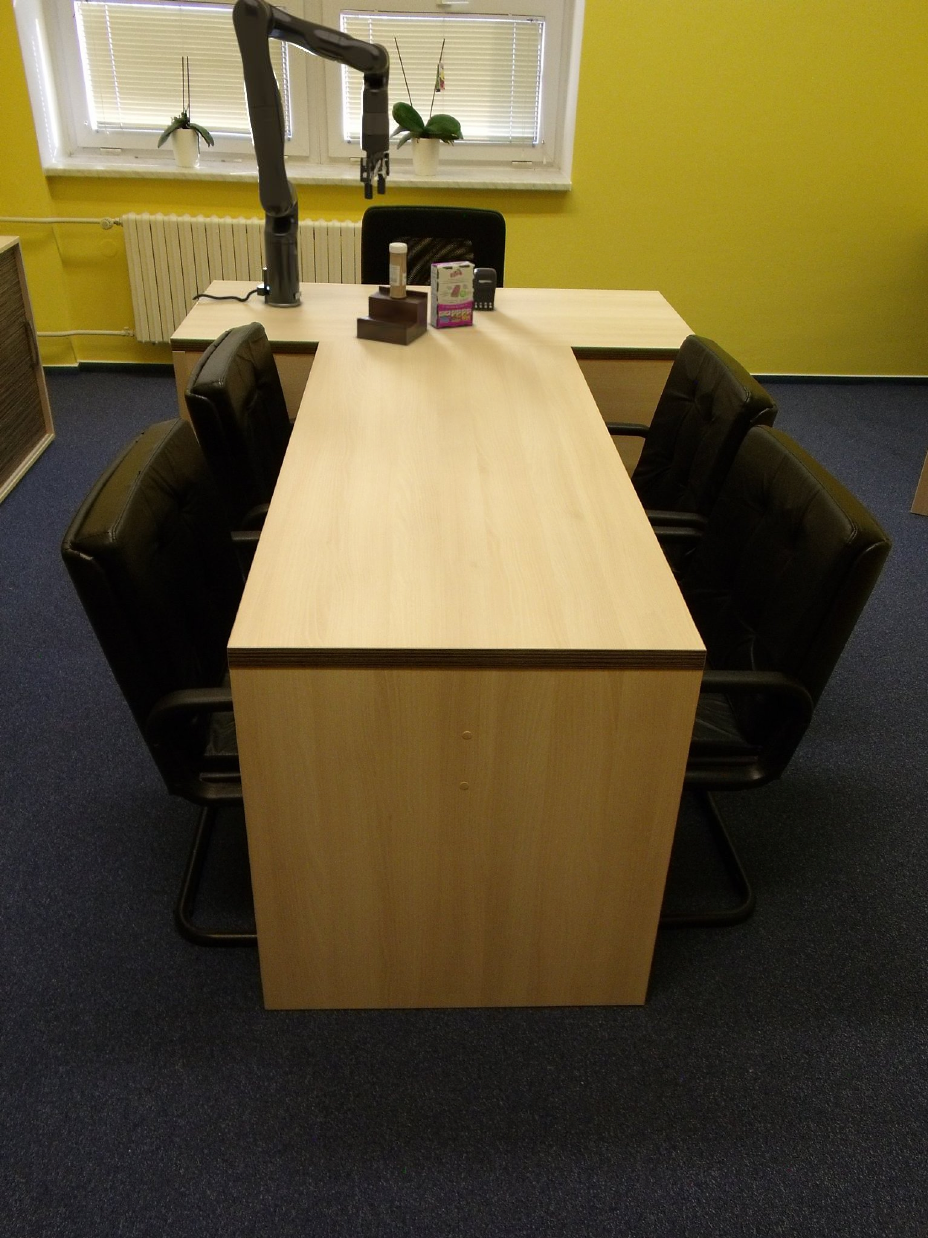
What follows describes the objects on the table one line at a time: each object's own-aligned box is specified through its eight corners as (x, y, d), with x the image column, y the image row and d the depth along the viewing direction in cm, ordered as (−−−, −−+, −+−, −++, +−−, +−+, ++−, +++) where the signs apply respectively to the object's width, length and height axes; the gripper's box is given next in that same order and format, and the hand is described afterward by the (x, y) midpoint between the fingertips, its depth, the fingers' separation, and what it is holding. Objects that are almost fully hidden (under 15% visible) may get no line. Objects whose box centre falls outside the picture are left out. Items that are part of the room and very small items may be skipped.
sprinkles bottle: (409, 297, 268) (410, 244, 260) (394, 299, 265) (395, 246, 258) (400, 293, 271) (401, 241, 264) (386, 295, 269) (386, 242, 261)
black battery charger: (471, 311, 292) (473, 270, 286) (470, 307, 296) (472, 267, 289) (495, 311, 293) (497, 271, 287) (494, 308, 296) (496, 267, 290)
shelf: (356, 337, 266) (356, 298, 260) (379, 323, 278) (379, 285, 272) (406, 345, 262) (406, 305, 257) (427, 330, 274) (428, 292, 269)
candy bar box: (465, 320, 284) (468, 260, 275) (473, 325, 280) (476, 264, 271) (428, 323, 279) (430, 262, 271) (436, 329, 276) (438, 267, 267)
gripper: (372, 126, 272) (372, 191, 281) (350, 132, 261) (351, 199, 269) (398, 129, 270) (397, 193, 279) (377, 134, 259) (377, 202, 267)
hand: (375, 196), depth 274 cm, fingers open, 8 cm apart
